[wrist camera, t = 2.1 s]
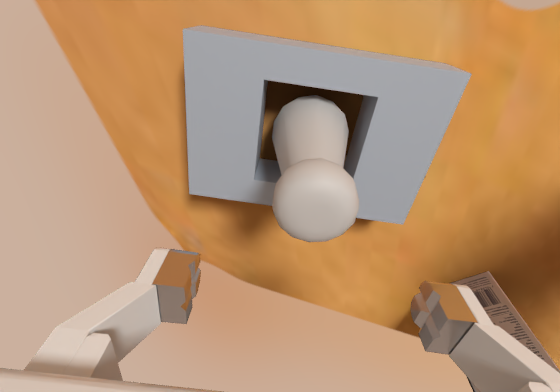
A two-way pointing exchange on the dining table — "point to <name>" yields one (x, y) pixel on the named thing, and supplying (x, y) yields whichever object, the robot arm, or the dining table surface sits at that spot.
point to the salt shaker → (313, 171)
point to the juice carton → (503, 314)
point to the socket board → (321, 74)
